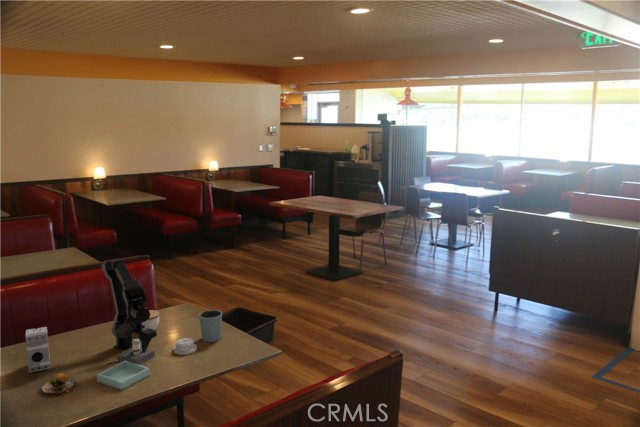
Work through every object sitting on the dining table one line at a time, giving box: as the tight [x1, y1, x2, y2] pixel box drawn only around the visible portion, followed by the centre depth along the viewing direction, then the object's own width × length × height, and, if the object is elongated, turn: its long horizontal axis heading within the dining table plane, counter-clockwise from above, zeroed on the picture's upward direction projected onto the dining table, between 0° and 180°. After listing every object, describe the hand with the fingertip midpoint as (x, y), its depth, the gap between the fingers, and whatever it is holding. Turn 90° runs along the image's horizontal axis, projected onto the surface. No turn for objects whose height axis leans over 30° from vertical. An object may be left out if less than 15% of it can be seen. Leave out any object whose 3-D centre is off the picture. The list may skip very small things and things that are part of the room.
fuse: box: [132, 338, 141, 356], centre depth 223 cm, size 3×3×8 cm
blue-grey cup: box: [198, 309, 223, 343], centre depth 244 cm, size 10×10×12 cm
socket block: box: [118, 346, 156, 365], centre depth 224 cm, size 10×10×2 cm
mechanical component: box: [172, 337, 198, 356], centre depth 232 cm, size 10×4×10 cm
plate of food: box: [40, 371, 77, 397], centre depth 199 cm, size 12×12×8 cm
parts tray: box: [96, 361, 151, 391], centre depth 207 cm, size 14×14×3 cm
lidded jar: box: [142, 309, 160, 330], centre depth 254 cm, size 11×11×9 cm
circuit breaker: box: [25, 326, 51, 373], centre depth 212 cm, size 8×14×15 cm, turn 27°
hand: (136, 350), depth 224 cm, fingers open, 8 cm apart
